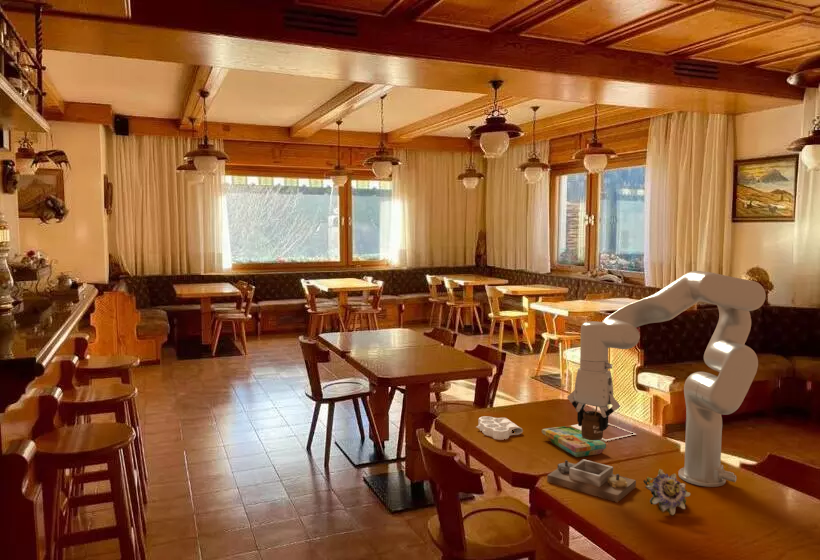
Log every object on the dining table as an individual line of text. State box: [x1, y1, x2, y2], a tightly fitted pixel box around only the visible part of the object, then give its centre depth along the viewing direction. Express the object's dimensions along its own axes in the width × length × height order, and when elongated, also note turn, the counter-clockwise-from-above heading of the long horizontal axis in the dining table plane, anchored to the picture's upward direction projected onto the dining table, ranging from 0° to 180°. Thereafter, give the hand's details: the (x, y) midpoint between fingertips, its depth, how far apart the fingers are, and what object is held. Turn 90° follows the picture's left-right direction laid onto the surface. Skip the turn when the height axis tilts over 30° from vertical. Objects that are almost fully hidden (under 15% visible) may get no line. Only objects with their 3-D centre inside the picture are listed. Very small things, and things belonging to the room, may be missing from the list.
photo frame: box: [570, 422, 637, 443], centre depth 224 cm, size 15×1×18 cm
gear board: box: [546, 458, 637, 503], centre depth 177 cm, size 21×13×5 cm, turn 49°
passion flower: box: [643, 468, 691, 516], centre depth 163 cm, size 11×11×12 cm
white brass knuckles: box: [476, 415, 524, 441], centre depth 224 cm, size 3×18×15 cm
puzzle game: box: [541, 425, 607, 458], centre depth 208 cm, size 12×5×20 cm
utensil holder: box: [581, 401, 604, 441], centre depth 176 cm, size 6×6×12 cm
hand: (592, 426), depth 176 cm, fingers closed on utensil holder, 5 cm apart
